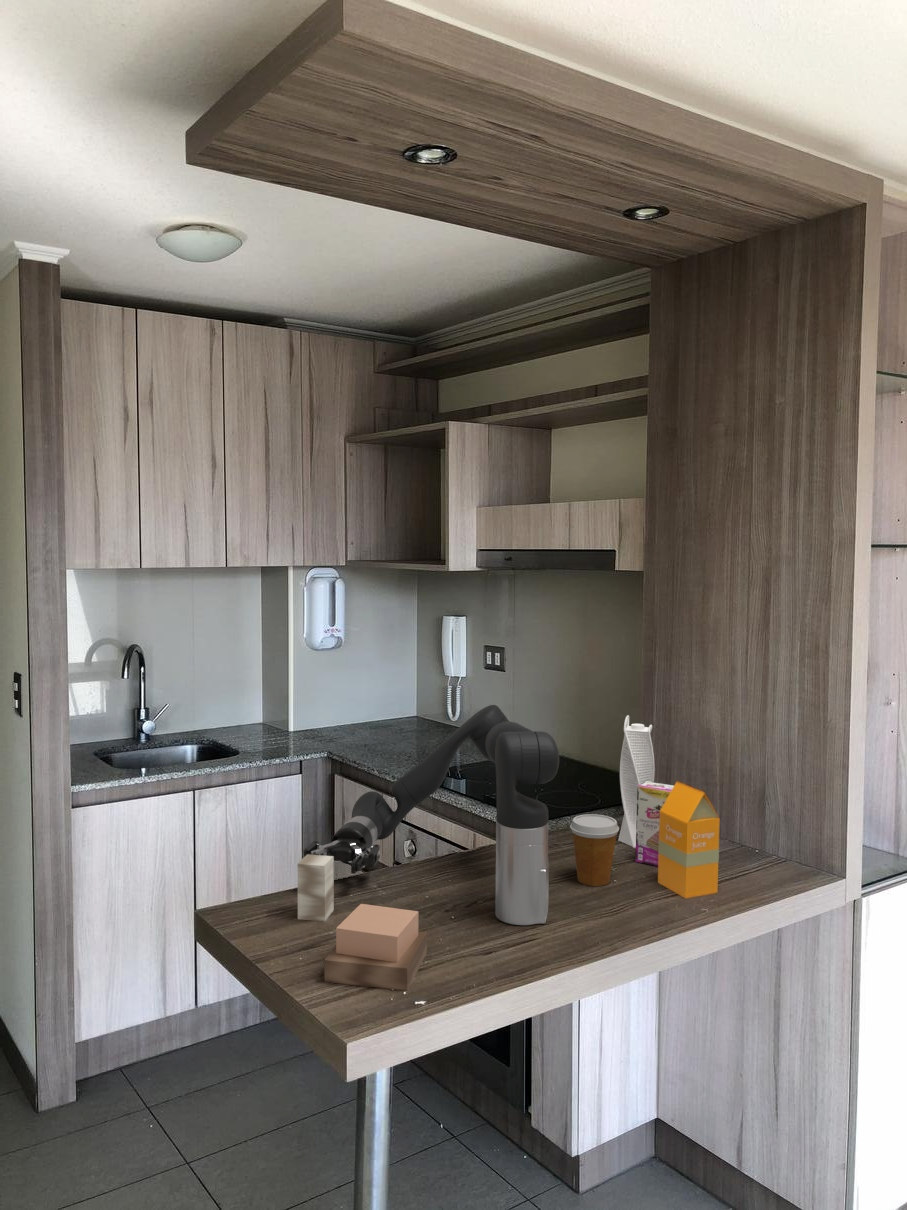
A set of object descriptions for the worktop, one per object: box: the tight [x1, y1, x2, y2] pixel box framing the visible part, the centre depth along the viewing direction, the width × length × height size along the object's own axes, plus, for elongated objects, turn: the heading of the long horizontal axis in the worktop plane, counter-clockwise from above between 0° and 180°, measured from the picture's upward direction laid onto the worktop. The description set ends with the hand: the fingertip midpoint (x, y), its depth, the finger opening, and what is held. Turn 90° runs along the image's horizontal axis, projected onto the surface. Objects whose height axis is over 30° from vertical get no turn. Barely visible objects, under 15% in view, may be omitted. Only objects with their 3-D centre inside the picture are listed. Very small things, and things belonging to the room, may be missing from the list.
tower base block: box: [323, 930, 428, 991], centre depth 149 cm, size 13×13×4 cm
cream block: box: [297, 854, 335, 922], centre depth 169 cm, size 5×5×10 cm
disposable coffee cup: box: [569, 813, 620, 887], centre depth 186 cm, size 10×10×12 cm
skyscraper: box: [617, 714, 656, 849], centre depth 209 cm, size 8×8×28 cm
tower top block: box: [335, 903, 420, 962], centre depth 149 cm, size 10×10×4 cm
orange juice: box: [657, 780, 721, 899], centre depth 183 cm, size 8×9×20 cm
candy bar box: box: [634, 781, 674, 867], centre depth 195 cm, size 11×5×16 cm, turn 58°
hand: (330, 867), depth 178 cm, fingers open, 8 cm apart
